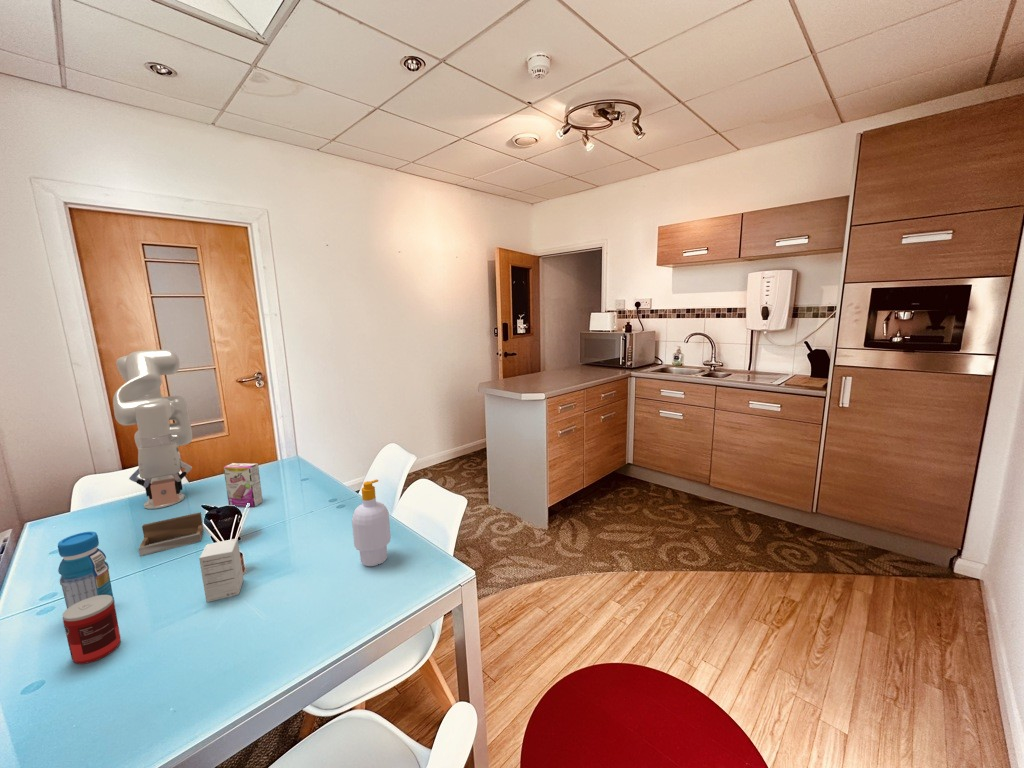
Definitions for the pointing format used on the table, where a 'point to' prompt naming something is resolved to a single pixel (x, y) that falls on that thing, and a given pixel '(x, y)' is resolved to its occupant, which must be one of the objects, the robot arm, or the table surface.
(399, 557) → the table surface
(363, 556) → the soap bottle
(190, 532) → the board
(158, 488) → the salmon pink block
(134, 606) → the table surface
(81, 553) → the beverage bottle
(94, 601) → the canned food
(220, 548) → the supplement box
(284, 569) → the table surface
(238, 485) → the candy bar box
